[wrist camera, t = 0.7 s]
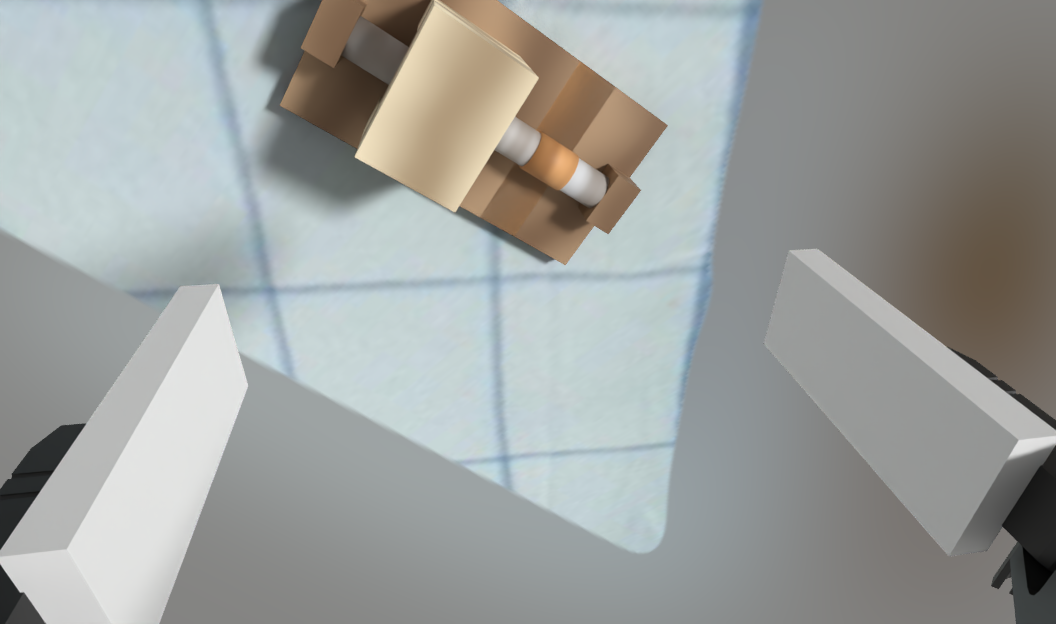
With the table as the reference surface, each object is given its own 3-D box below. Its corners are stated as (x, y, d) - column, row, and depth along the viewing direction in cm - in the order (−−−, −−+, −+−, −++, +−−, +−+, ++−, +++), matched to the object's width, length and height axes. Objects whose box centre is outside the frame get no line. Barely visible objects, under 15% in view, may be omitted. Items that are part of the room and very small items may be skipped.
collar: (367, 122, 31) (354, 157, 26) (433, -5, 29) (434, 5, 23) (450, 171, 33) (455, 212, 28) (519, 56, 31) (539, 78, 25)
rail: (284, 100, 31) (269, 116, 28) (372, -92, 28) (365, -96, 25) (561, 256, 38) (572, 282, 35) (660, 120, 35) (682, 136, 32)
